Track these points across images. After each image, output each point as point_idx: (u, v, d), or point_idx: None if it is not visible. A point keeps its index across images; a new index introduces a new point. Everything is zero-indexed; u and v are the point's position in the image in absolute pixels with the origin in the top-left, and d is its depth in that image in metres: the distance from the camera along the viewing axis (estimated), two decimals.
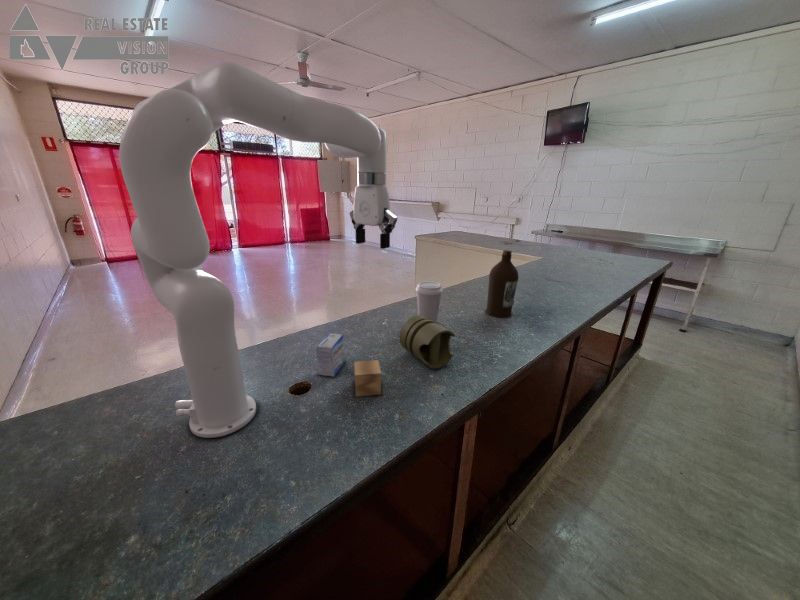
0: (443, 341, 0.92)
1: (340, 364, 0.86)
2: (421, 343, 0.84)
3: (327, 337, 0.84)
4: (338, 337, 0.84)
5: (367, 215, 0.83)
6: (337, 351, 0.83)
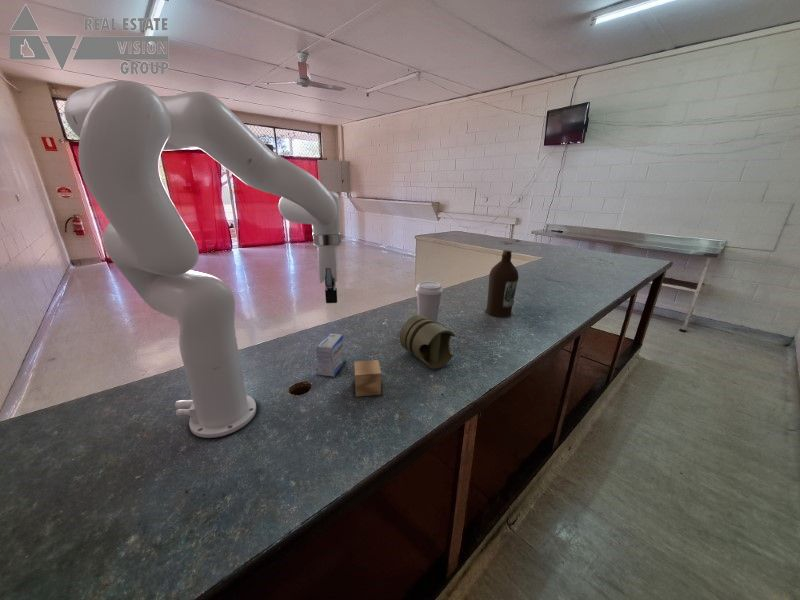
0: (443, 341, 0.92)
1: (340, 364, 0.86)
2: (421, 343, 0.84)
3: (327, 337, 0.84)
4: (338, 337, 0.84)
5: None
6: (337, 351, 0.83)
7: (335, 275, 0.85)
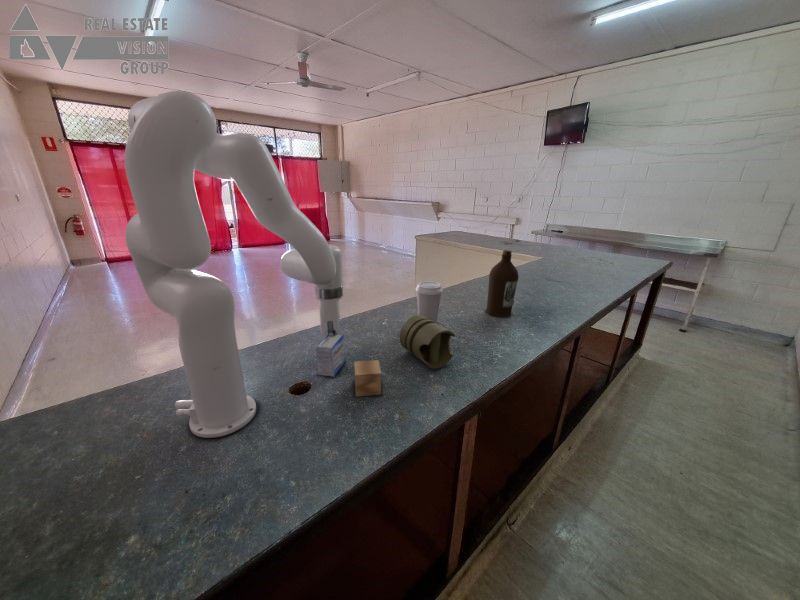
0: (443, 341, 0.92)
1: (340, 364, 0.86)
2: (421, 343, 0.84)
3: (327, 337, 0.84)
4: (338, 337, 0.84)
5: None
6: (337, 351, 0.83)
7: (337, 327, 0.85)
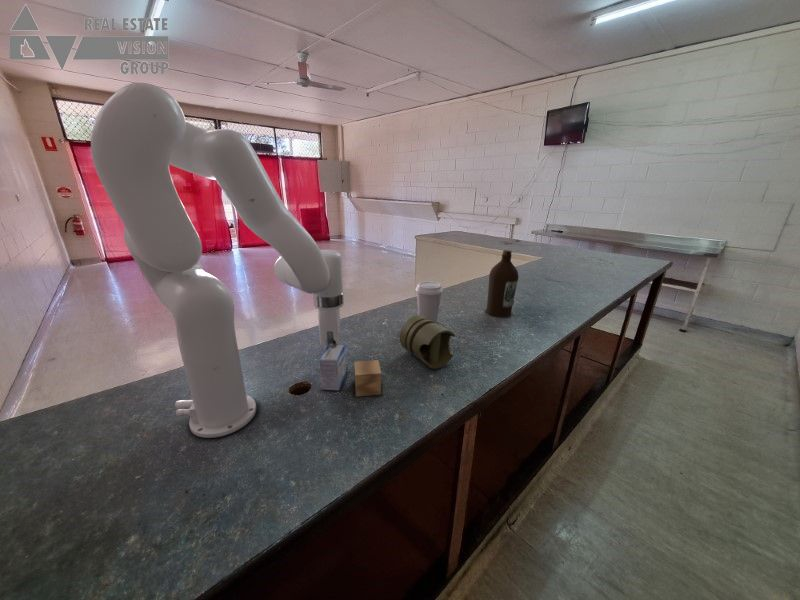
0: (443, 341, 0.92)
1: (343, 376, 0.81)
2: (421, 343, 0.84)
3: (328, 348, 0.79)
4: (340, 348, 0.79)
5: None
6: (341, 363, 0.78)
7: (337, 338, 0.79)
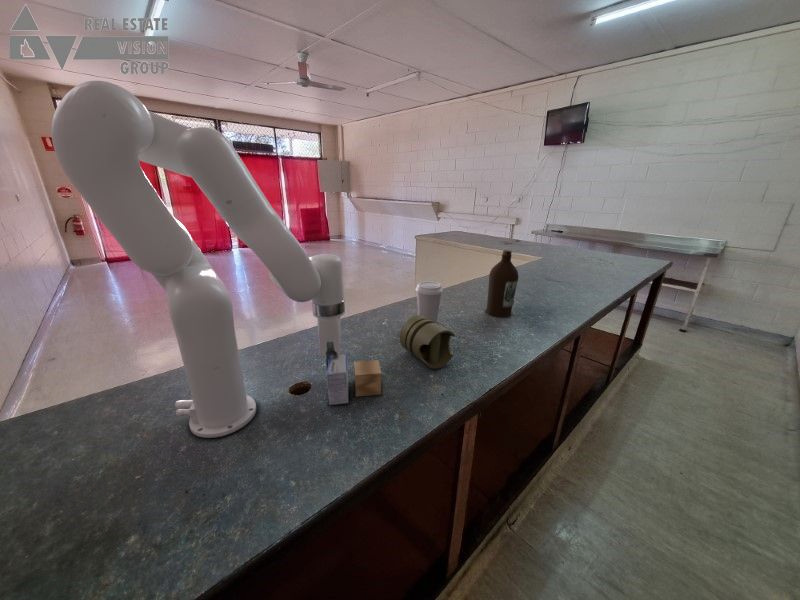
0: (443, 341, 0.92)
1: None
2: (421, 343, 0.84)
3: (331, 360, 0.73)
4: (343, 358, 0.74)
5: None
6: (347, 374, 0.73)
7: (338, 349, 0.74)
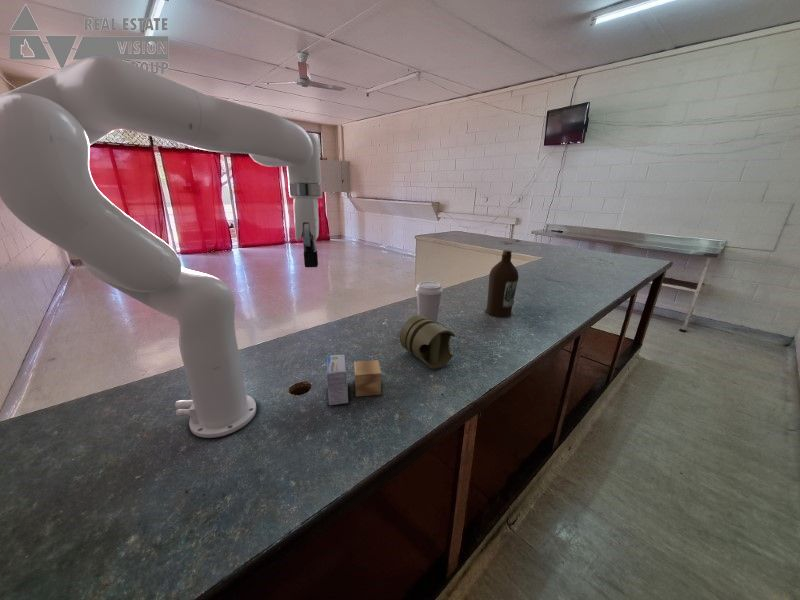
0: (443, 341, 0.92)
1: None
2: (421, 343, 0.84)
3: (330, 360, 0.74)
4: (343, 358, 0.75)
5: None
6: None
7: (314, 231, 0.74)
